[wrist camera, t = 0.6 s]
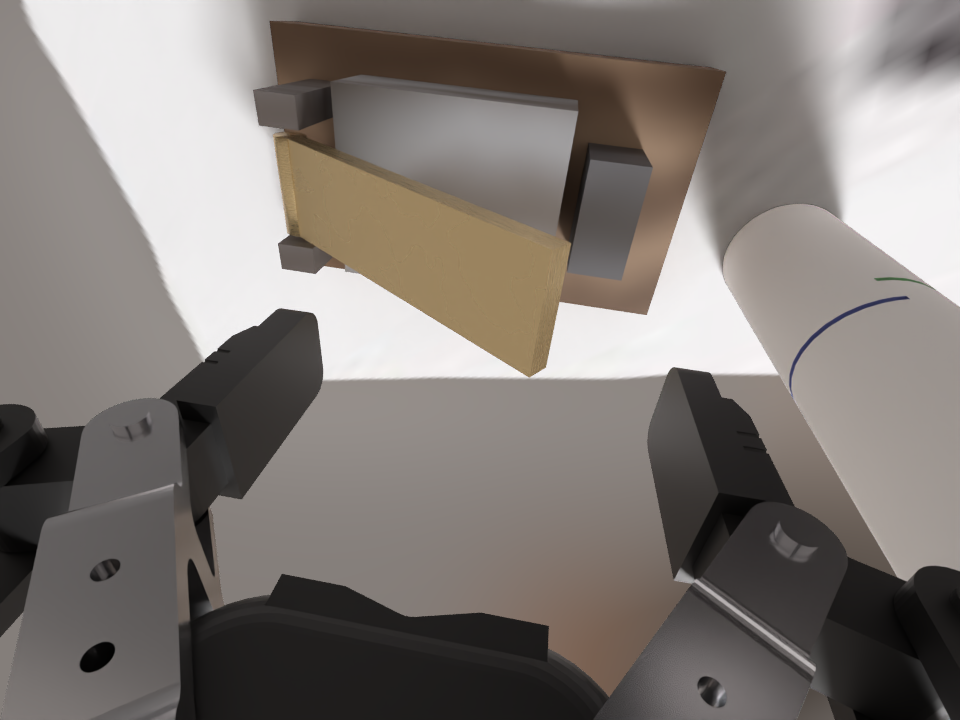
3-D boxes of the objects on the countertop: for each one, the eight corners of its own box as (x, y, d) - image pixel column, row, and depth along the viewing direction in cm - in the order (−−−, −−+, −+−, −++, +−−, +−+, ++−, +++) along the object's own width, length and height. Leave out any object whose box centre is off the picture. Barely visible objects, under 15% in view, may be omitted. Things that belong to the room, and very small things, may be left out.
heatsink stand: (295, 21, 29) (199, 20, 21) (712, 67, 27) (764, 83, 19) (320, 246, 37) (256, 302, 29) (641, 294, 35) (659, 366, 27)
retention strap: (296, 130, 25) (267, 133, 24) (576, 241, 16) (546, 252, 15) (308, 224, 28) (281, 229, 27) (550, 364, 19) (524, 380, 18)
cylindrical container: (715, 225, 31) (974, 596, 11) (844, 186, 29) (1482, 567, 9) (730, 318, 35) (950, 732, 14) (847, 290, 32) (1309, 740, 12)
